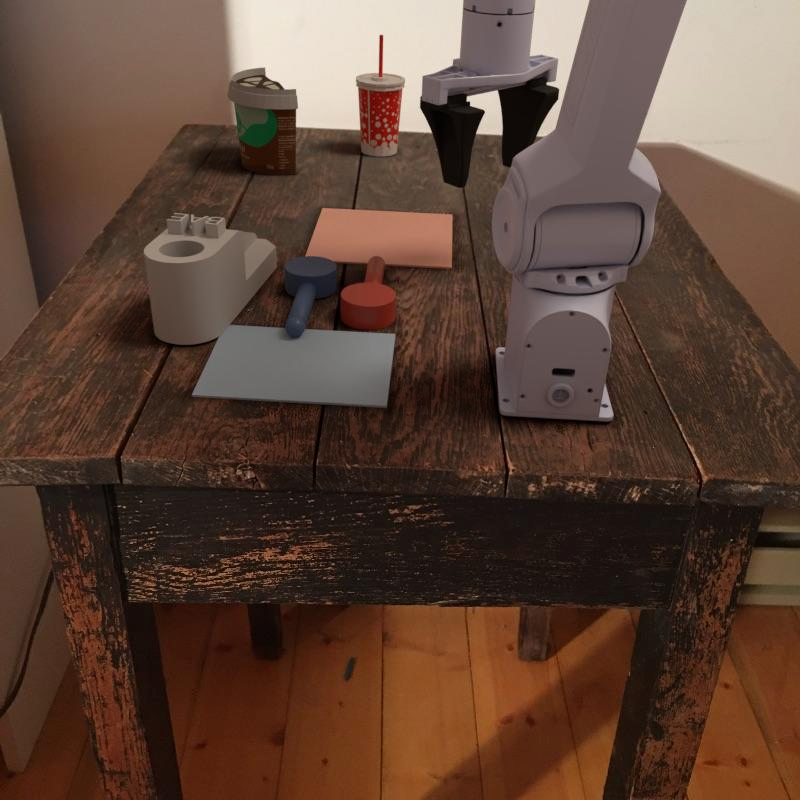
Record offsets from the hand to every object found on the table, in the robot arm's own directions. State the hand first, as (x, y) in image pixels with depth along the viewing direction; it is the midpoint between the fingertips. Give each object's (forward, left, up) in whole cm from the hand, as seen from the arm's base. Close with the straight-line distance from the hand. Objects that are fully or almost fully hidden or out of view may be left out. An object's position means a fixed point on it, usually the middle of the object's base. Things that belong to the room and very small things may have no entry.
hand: (484, 175), depth 80 cm
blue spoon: (-9, +15, -9) cm, 20 cm away
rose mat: (+8, +9, -9) cm, 16 cm away
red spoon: (-6, +9, -9) cm, 15 cm away
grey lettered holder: (-8, +23, -10) cm, 26 cm away
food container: (+29, +26, -10) cm, 40 cm away
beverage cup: (+37, +12, -10) cm, 40 cm away
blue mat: (-18, +14, -9) cm, 25 cm away
